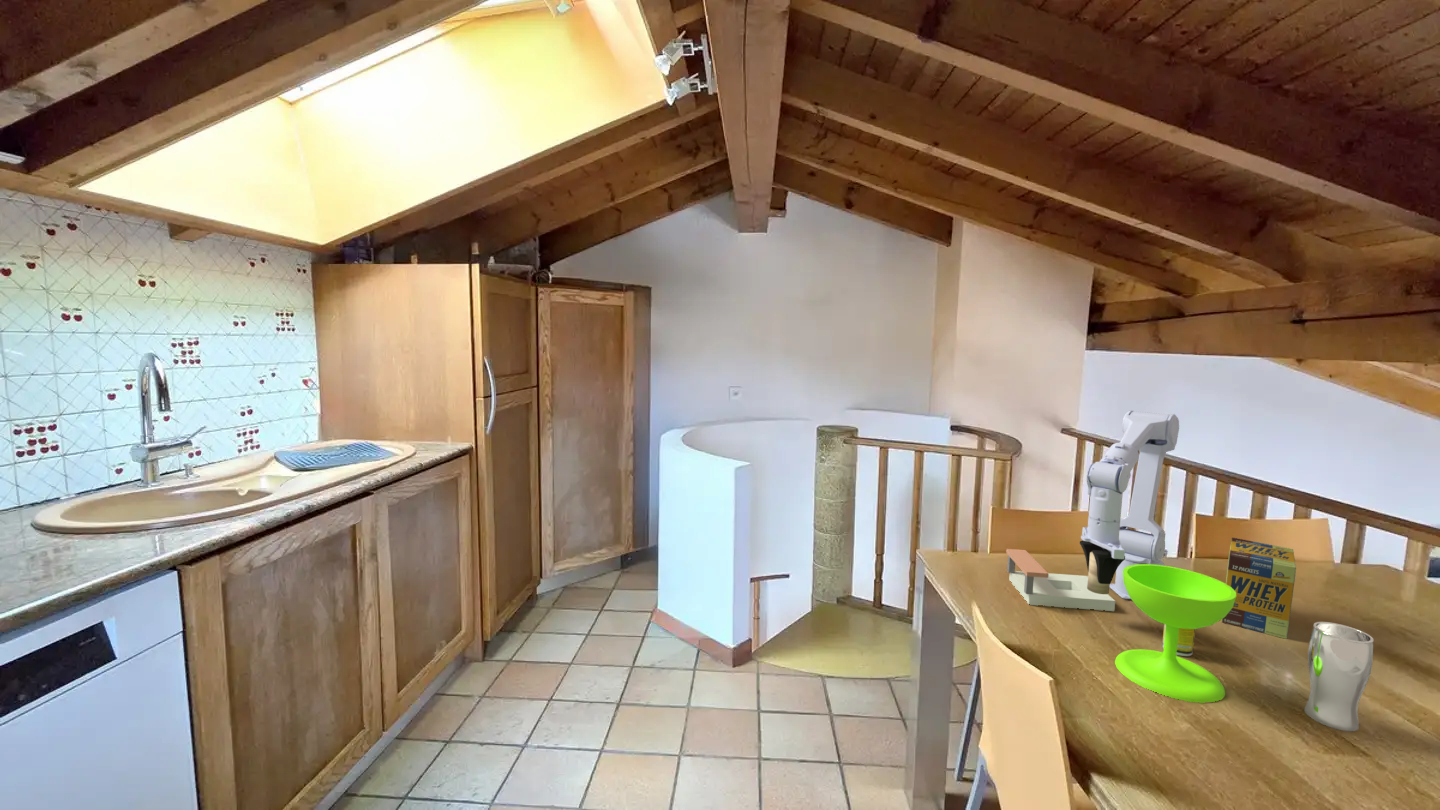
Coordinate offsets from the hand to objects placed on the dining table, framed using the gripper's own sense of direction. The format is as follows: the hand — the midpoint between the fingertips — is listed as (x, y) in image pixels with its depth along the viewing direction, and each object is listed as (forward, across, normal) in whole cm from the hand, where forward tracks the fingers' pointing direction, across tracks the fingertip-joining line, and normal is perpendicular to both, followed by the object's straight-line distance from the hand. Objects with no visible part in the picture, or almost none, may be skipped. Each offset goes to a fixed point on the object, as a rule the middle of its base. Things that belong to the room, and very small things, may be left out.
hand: (1099, 578), depth 126 cm
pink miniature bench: (+7, -12, -11) cm, 17 cm away
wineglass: (+10, +21, +3) cm, 23 cm away
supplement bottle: (+10, +11, +10) cm, 18 cm away
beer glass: (+10, +30, +22) cm, 38 cm away
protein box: (+10, -7, +35) cm, 37 cm away
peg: (+3, 0, 0) cm, 3 cm away
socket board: (+9, -12, -3) cm, 15 cm away
